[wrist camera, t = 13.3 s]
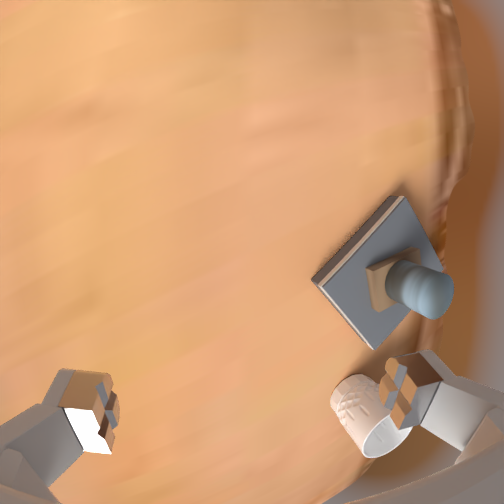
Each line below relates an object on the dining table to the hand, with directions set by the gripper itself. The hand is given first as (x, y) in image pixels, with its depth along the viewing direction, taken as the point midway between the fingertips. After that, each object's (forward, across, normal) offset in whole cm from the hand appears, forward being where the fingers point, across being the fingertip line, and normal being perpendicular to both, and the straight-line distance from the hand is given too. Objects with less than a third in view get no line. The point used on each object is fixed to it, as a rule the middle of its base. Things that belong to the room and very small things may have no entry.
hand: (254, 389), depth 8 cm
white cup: (+24, -17, +25) cm, 38 cm away
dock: (+26, -19, +8) cm, 33 cm away
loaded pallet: (+23, -19, +7) cm, 31 cm away
